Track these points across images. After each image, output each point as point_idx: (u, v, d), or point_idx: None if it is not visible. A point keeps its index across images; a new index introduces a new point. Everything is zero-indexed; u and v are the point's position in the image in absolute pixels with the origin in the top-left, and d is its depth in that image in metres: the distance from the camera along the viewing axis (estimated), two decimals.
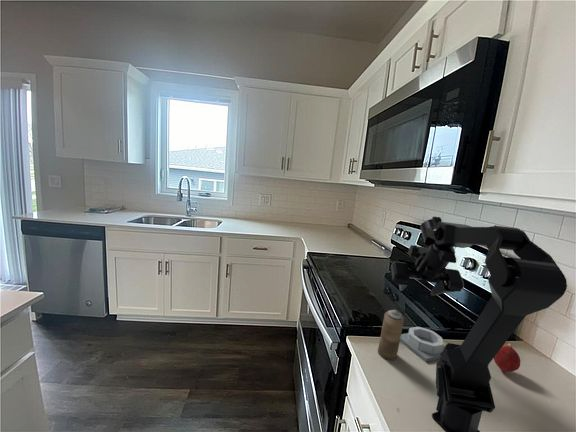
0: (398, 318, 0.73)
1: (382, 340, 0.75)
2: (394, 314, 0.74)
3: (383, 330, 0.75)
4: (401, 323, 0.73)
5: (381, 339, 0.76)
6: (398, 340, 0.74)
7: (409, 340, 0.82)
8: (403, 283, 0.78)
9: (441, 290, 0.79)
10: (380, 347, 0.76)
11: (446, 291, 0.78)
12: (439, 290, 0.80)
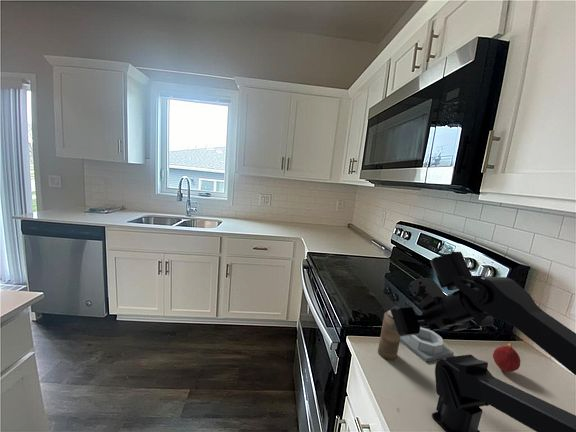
0: None
1: (382, 340, 0.75)
2: None
3: (383, 330, 0.75)
4: None
5: (381, 339, 0.76)
6: (398, 340, 0.74)
7: (409, 340, 0.82)
8: None
9: (441, 328, 0.66)
10: (380, 347, 0.76)
11: (448, 330, 0.65)
12: None
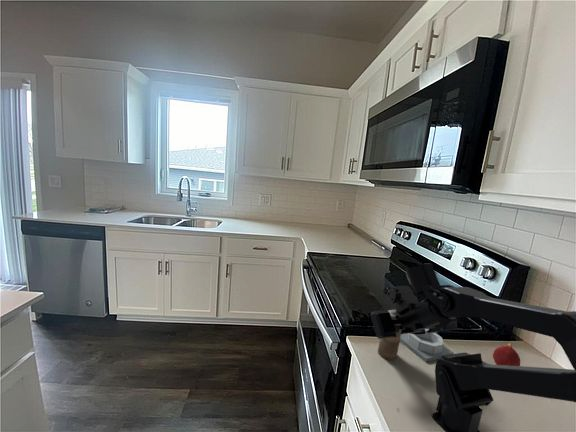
0: None
1: (382, 340, 0.75)
2: (394, 314, 0.74)
3: None
4: None
5: (381, 339, 0.76)
6: (398, 340, 0.74)
7: (409, 340, 0.82)
8: (387, 337, 0.68)
9: None
10: (380, 347, 0.76)
11: None
12: None
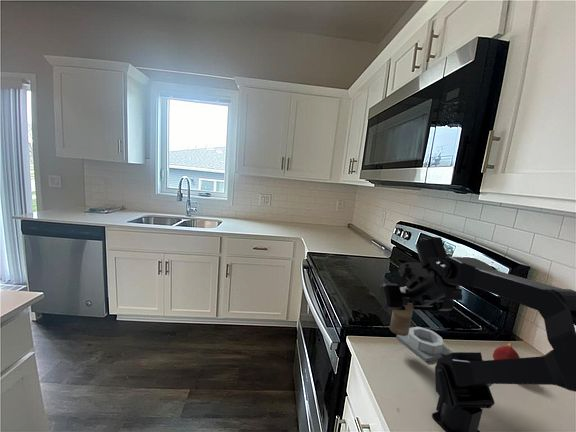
0: None
1: (393, 315, 0.77)
2: None
3: None
4: None
5: (393, 314, 0.77)
6: (409, 316, 0.75)
7: (409, 340, 0.82)
8: (395, 309, 0.70)
9: (423, 308, 0.73)
10: (391, 322, 0.77)
11: (428, 310, 0.72)
12: (420, 307, 0.74)
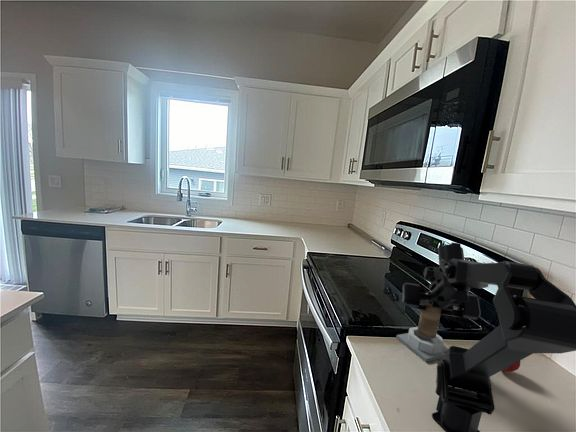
0: None
1: (420, 317, 0.81)
2: None
3: None
4: None
5: (420, 316, 0.81)
6: (435, 319, 0.78)
7: (409, 340, 0.82)
8: None
9: (448, 313, 0.76)
10: (418, 324, 0.82)
11: (453, 315, 0.74)
12: (446, 312, 0.76)
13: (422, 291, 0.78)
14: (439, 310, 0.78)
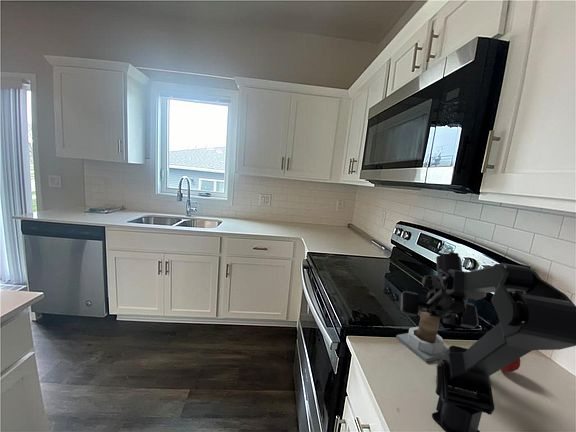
0: None
1: (418, 327, 0.82)
2: None
3: (420, 318, 0.81)
4: None
5: None
6: (433, 330, 0.79)
7: (409, 340, 0.82)
8: (411, 315, 0.76)
9: (452, 323, 0.76)
10: (417, 334, 0.82)
11: (457, 325, 0.75)
12: (450, 322, 0.77)
13: None
14: (437, 322, 0.78)
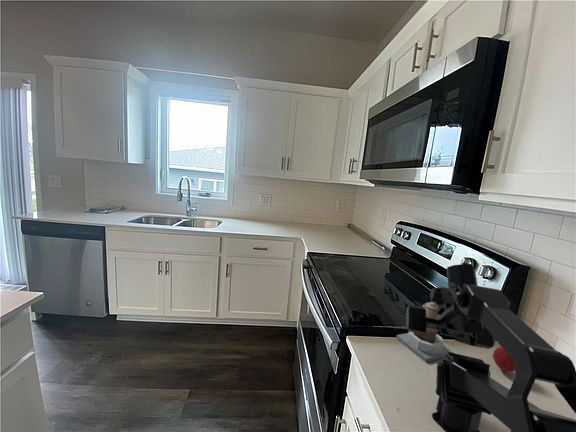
0: (433, 309, 0.78)
1: None
2: (430, 305, 0.79)
3: None
4: (436, 314, 0.78)
5: None
6: (433, 330, 0.79)
7: (409, 340, 0.82)
8: (419, 333, 0.67)
9: (466, 342, 0.67)
10: None
11: None
12: (464, 340, 0.68)
13: None
14: None
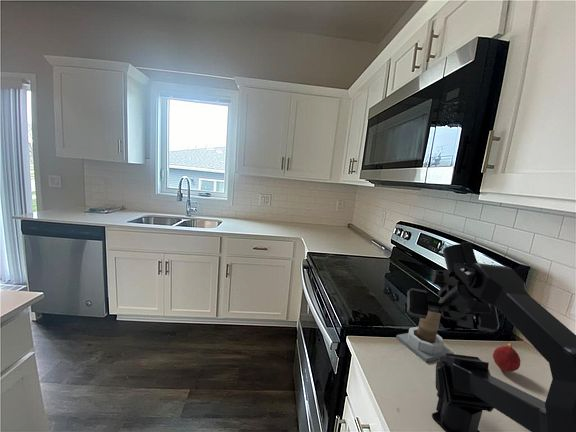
0: None
1: (418, 327, 0.82)
2: None
3: (420, 318, 0.82)
4: (436, 314, 0.78)
5: (418, 327, 0.82)
6: (433, 330, 0.79)
7: (409, 340, 0.82)
8: (420, 317, 0.65)
9: (469, 326, 0.65)
10: None
11: None
12: (466, 324, 0.66)
13: None
14: (437, 322, 0.78)
